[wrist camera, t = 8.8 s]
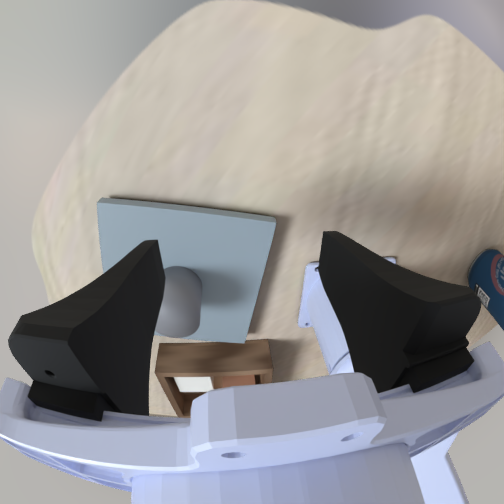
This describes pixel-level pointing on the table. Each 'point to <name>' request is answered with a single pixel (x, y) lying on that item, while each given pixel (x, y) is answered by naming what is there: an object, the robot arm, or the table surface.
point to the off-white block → (194, 384)
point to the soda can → (489, 282)
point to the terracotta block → (238, 380)
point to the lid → (194, 262)
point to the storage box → (209, 366)
